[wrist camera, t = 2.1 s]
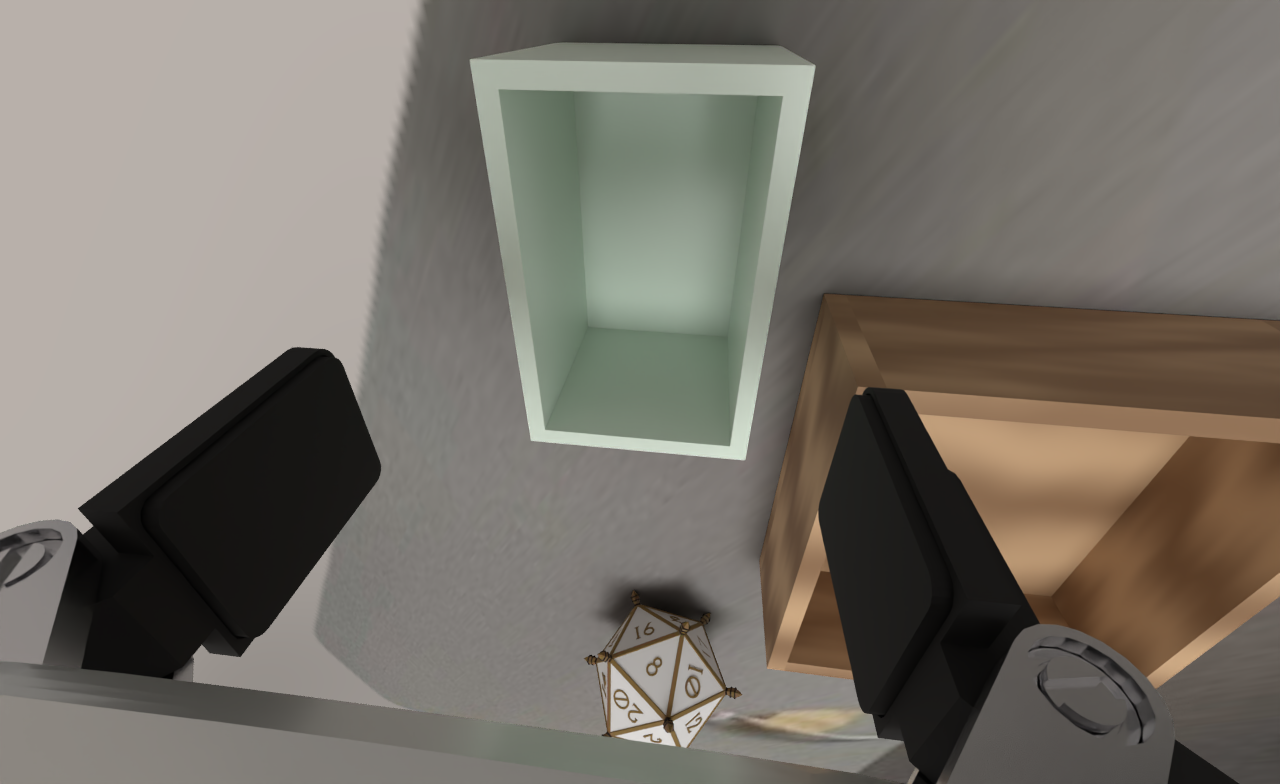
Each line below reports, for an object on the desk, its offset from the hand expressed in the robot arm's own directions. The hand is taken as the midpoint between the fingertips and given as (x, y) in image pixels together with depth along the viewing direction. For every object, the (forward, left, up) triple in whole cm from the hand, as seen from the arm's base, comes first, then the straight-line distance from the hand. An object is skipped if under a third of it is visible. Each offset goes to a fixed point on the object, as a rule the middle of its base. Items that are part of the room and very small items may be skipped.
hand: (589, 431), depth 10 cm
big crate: (+10, +14, -11) cm, 21 cm away
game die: (+25, +1, -12) cm, 28 cm away
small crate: (-1, 0, -11) cm, 11 cm away
